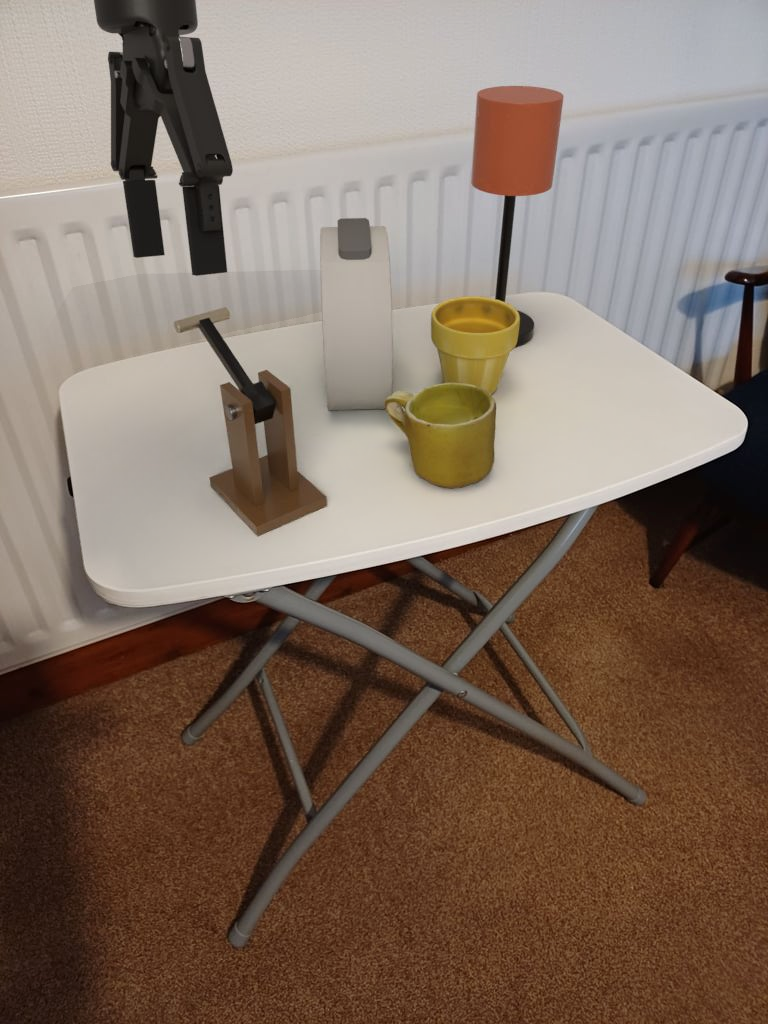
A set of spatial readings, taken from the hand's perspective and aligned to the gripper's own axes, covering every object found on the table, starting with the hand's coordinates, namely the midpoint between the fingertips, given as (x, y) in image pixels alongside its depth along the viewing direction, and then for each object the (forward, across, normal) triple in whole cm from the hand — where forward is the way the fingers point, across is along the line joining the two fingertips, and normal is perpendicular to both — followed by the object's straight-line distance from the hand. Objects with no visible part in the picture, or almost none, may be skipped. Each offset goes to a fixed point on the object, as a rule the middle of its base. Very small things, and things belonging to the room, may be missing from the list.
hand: (177, 264), depth 68 cm
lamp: (+15, +13, -50) cm, 54 cm away
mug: (+22, -7, -24) cm, 34 cm away
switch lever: (+11, +2, -5) cm, 12 cm away
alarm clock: (+18, +12, -27) cm, 35 cm away
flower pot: (+19, +4, -37) cm, 42 cm away
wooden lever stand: (+23, -1, -6) cm, 24 cm away
